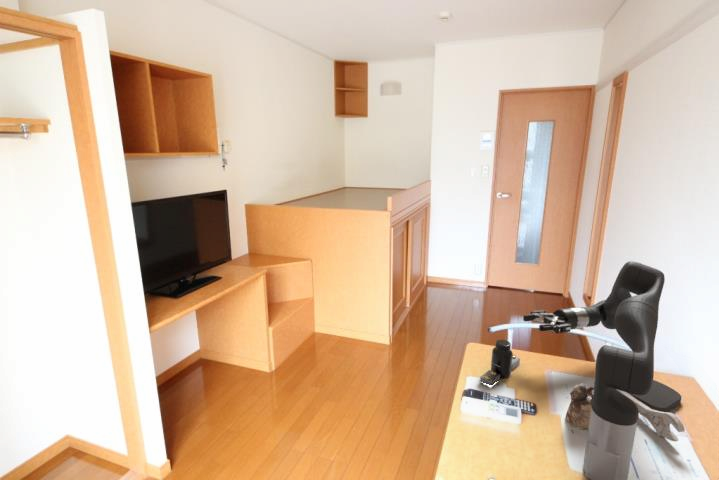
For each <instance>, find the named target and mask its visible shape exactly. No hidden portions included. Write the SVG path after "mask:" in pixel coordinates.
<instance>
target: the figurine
mask: <svg viewBox="0 0 719 480" xmlns="http://www.w3.org/2000/svg"><path fill="white" fill-rule="evenodd" d="M593 392H594V385H591V386H589V387H587V386H586V384H585V383H578V384H576V385H575V386H574V388H573V390H572V391H571V392H570V393H569V395H570V403H569V404H568V408H567V411H566V413H565V418H564V419H565V420H566V422H567V423H568V424H569V425H570V426H572V427H574V428H576V429H580V430H588V426H589V419H590V412H591V405H592V399H593ZM589 397H591V399H590V398H589Z"/></svg>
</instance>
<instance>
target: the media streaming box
mask: <svg viewBox="0 0 719 480" xmlns="http://www.w3.org/2000/svg"><path fill="white" fill-rule="evenodd" d="M627 393H628V392H627ZM628 394H630V395H631V396H633V397H634V398H636V399H637V400H639V401H640V402H642V403H643V404H645V405H646V406H648V407H649V408H651V409H653V410H657V411H660V412H668V413H670V412H671V411H673V410H674V409H676V408H677V407H678V406H679V405H680V404H681V402H682V396H681V393H679V392H678V391H676V390H675V389H673V388H672V387H670V386H668V385H666V384H664V383H662V382H659V381H658V380H655V379H653V383H652V386H651V389H650V391H649V392H648V393H647V394H646V395H635V394H631V393H628Z"/></svg>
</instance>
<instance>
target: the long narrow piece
mask: <svg viewBox="0 0 719 480" xmlns="http://www.w3.org/2000/svg"><path fill="white" fill-rule="evenodd" d="M520 362H521V358H520V357H518V356H517V355H515V354H513V357H512V368H511V372H512V371H513V370H515V369H516V368H517V367H519V366H520V364H521V363H520ZM480 381H481V382H483V383H486V384H489V385H493V384H494V383H495V382H497V381H499V382H500V381H501V378H500V374H498V373H496V372H495V371H491V369H489V370H487V371H486V372H484V374H482V375H481V376H480V378H479V382H480Z"/></svg>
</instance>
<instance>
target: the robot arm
mask: <svg viewBox="0 0 719 480" xmlns="http://www.w3.org/2000/svg"><path fill="white" fill-rule="evenodd" d="M665 278H666V277H665V274H664V272H662V270H660V269H658V268H655V267H651V266H650V265H646V264H644V263H641V262H637V261H632V260H630V261H629V260H628V261H627V262H625V263H624V265H622V267H621V268H620V270H619V272H618V275H617V277H616V278H615V281H614V284H613V285H612V288H611V292H610V293H609V295H608V296H607V298H606V299H603V300H600V301H599V302H597V303H594V304H592V305H590V306H585V307H566V308H559V309H556V310H555V311H554V312H553V313H552V312H551V313H550V312H548V313H547V310H546V309H540V310H531V311H530V314H529V313H528V314H524V315H523V317H522V318H523V319H522V320H523V321H524V322H531V321H536V322H538V323H541V324H539V326H538V330H539V331H540V332H547V331H548V332H554V333H555V334H564V333H568V332H569V333H571V330H572V331H573V330H580V329H582V328H590V327H596V326H598V325H599V324H601V325H602V326H603V327H605V329H607V330H615V331H616V333H617V334H618V335H619V338H621V340H622V341H623V342H624V343H625V345H627V346H628V347H629V348H630V350H629V349H624V348H620V347H617V346H613V345H608V344H607V345H602V346H600V349H598V351H597V355H596V358H595V366H594V367H595V370H594V383H593V384H594V385H593V387H594V390H593V391H592V393H593V399H592V398H591V399H592V405H591V412H590V419H589V426H588V429H587V432H586V433H587V435H586V442H585V443H586V444H585V450H584V457H583V465H582V467H583V470H584V477H585V478H587V479H588V480H628V478H629V473H630V467H631V462H632V461H631V460H632V454H633V447H634V443H635V435H636V432H637V431H636V430H637V424H638V419H639V415H640V413H639V411H638V408H637V406H636V404H635V403H634V402H633V401H632V400H631V399H629V398H628V397H626V396H625V395H623V394H622V393H620V392H619V391H617V390H621V391H624V392H628V393H631V394H635V395H646V394H647V393H648V392H649V391H650V389H651V386H652V383H653V380H654V377H655V371H654V368H655V341H656V335H657V330H658V322H659V310H660V309H659V308H660V306H659V305H660V301H661V296H662V293H663V289H664V285H665V280H666V279H665ZM632 294H635V295H633V296H632ZM616 389H617V390H616Z"/></svg>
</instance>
